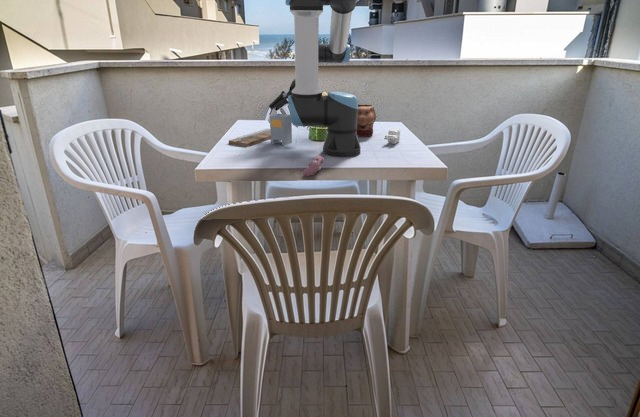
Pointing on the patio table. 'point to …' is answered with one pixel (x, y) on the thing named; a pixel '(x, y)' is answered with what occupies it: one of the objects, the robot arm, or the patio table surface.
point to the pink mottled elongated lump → (313, 166)
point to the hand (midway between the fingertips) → (282, 124)
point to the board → (251, 140)
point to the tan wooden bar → (253, 135)
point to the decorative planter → (365, 120)
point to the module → (281, 129)
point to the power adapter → (393, 136)
